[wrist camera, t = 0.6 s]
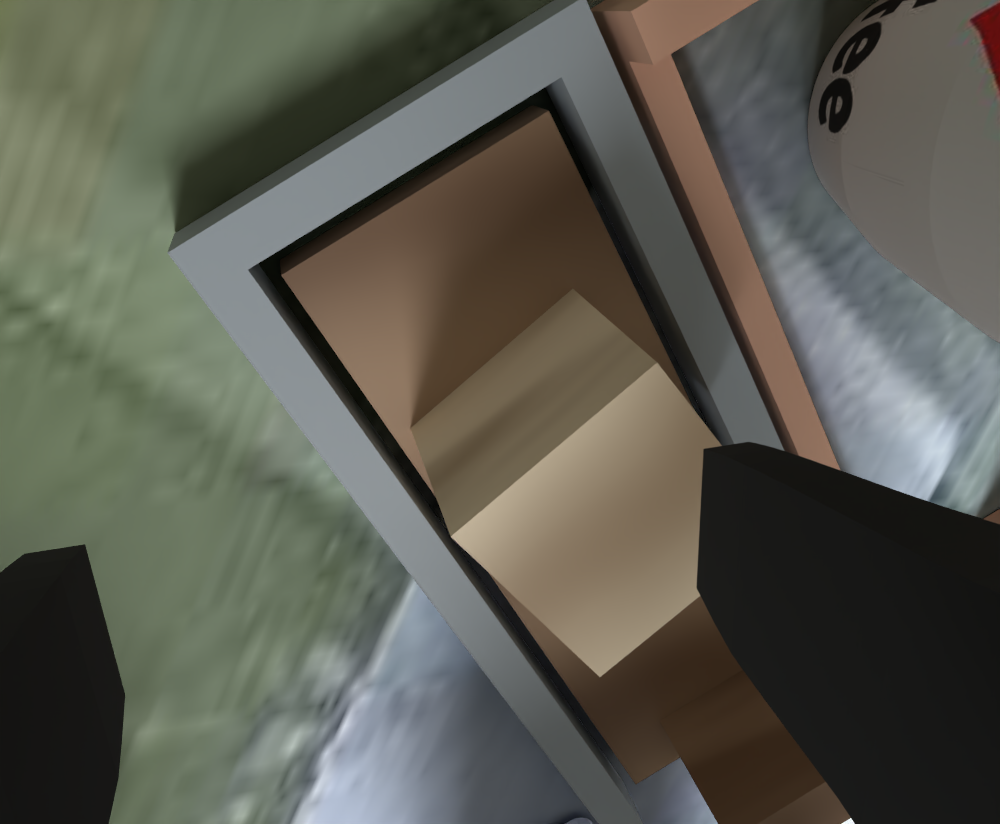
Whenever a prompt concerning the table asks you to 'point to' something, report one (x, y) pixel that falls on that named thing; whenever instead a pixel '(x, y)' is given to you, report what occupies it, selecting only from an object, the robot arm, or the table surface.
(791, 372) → the cup sled
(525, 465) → the beech cube
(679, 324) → the lane frame
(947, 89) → the cup
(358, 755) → the table surface
